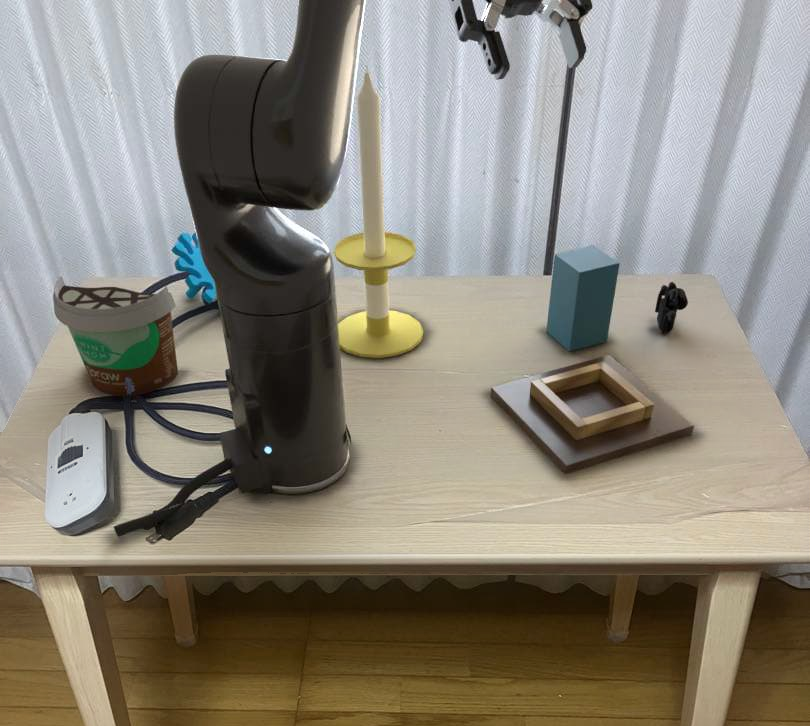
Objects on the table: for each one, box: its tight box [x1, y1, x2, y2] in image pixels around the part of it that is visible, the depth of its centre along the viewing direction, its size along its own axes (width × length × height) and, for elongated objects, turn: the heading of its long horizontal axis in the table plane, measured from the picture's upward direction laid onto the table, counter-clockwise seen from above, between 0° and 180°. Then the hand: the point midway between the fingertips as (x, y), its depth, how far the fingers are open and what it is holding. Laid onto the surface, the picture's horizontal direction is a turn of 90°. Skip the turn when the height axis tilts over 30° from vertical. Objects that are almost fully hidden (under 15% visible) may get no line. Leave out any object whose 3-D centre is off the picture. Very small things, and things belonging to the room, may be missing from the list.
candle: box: [333, 64, 424, 359], centre depth 86 cm, size 10×10×27 cm
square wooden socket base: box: [490, 354, 695, 475], centre depth 83 cm, size 14×14×2 cm
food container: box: [52, 276, 179, 397], centre depth 85 cm, size 12×6×10 cm, turn 77°
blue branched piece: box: [171, 231, 216, 304], centre depth 101 cm, size 11×6×10 cm
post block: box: [545, 244, 621, 352], centre depth 91 cm, size 5×5×9 cm
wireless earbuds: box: [654, 281, 689, 336], centre depth 94 cm, size 7×2×5 cm, turn 176°
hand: (541, 69), depth 86 cm, fingers open, 8 cm apart
